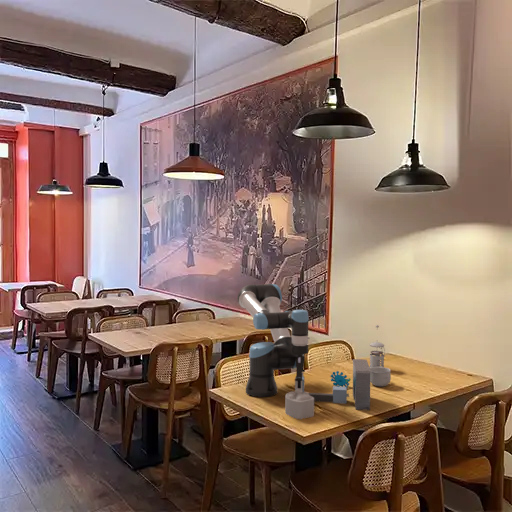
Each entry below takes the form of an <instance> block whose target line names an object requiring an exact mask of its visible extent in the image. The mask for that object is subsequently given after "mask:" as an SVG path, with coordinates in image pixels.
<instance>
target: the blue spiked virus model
mask: <svg viewBox="0 0 512 512" xmlns="http://www.w3.org/2000/svg"><path fill="white" fill-rule="evenodd" d="M339 373H340V374H339ZM347 377H348V376H347V375H346V374H345V375H344V372H342V371H339V370H336V371H332V374H331V375H330V382H333V383H332V385H333V386H336V387H346V389H347V390H348V387H349V385H350V383H349V382H350V381H352V379H351V377H350V378H347Z"/></svg>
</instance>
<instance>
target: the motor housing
mask: <svg viewBox="0 0 512 512" xmlns="http://www.w3.org/2000/svg"><path fill="white" fill-rule="evenodd" d="M370 373H371V370H370V364H369V362H368V360H367V359H364V358H363V359H360V358H357V359H356V358H355V359H352V398H353V399H352V400H354V407H355V410H358V411H370V410H371V382H370Z"/></svg>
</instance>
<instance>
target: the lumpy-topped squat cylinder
mask: <svg viewBox="0 0 512 512" xmlns="http://www.w3.org/2000/svg"><path fill="white" fill-rule="evenodd" d="M309 393H310V392H308V391H304V392H302V393H300V391H298V390H296V391H295V390H294V391H293V390H292V391H289V392H287V393H286V394H285V397H284V398H285V402H284V403H285V404H284V405H285V406H284V408H285V409H284V411H285V415H287V416H288V415H289V417H290V416H291V418H292V417H293V419H295V418H296V419H295V420H303V418H304V419H307V418H313V417H314V416H315V401H314V397H312V396H310V395H309Z"/></svg>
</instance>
